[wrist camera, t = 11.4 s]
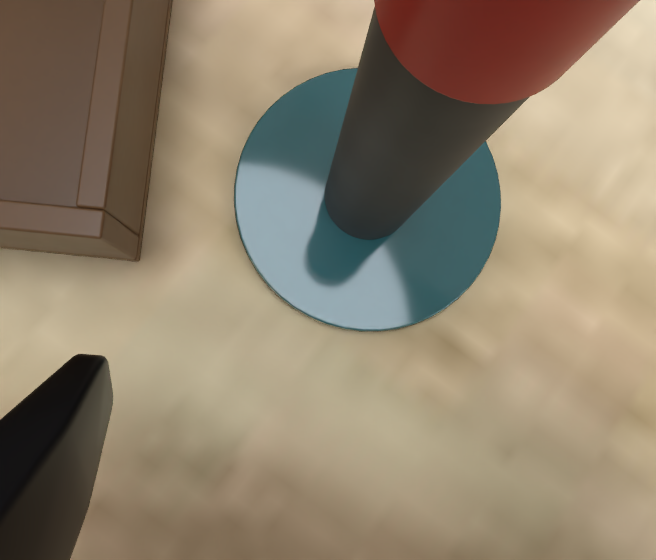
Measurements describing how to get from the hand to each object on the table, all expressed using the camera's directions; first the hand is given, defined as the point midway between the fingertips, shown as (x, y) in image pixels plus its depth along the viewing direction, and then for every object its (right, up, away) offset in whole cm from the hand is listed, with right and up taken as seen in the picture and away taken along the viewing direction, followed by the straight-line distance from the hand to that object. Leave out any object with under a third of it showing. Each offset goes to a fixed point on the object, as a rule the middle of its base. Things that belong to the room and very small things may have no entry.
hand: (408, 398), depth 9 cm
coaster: (0, +4, +10) cm, 10 cm away
